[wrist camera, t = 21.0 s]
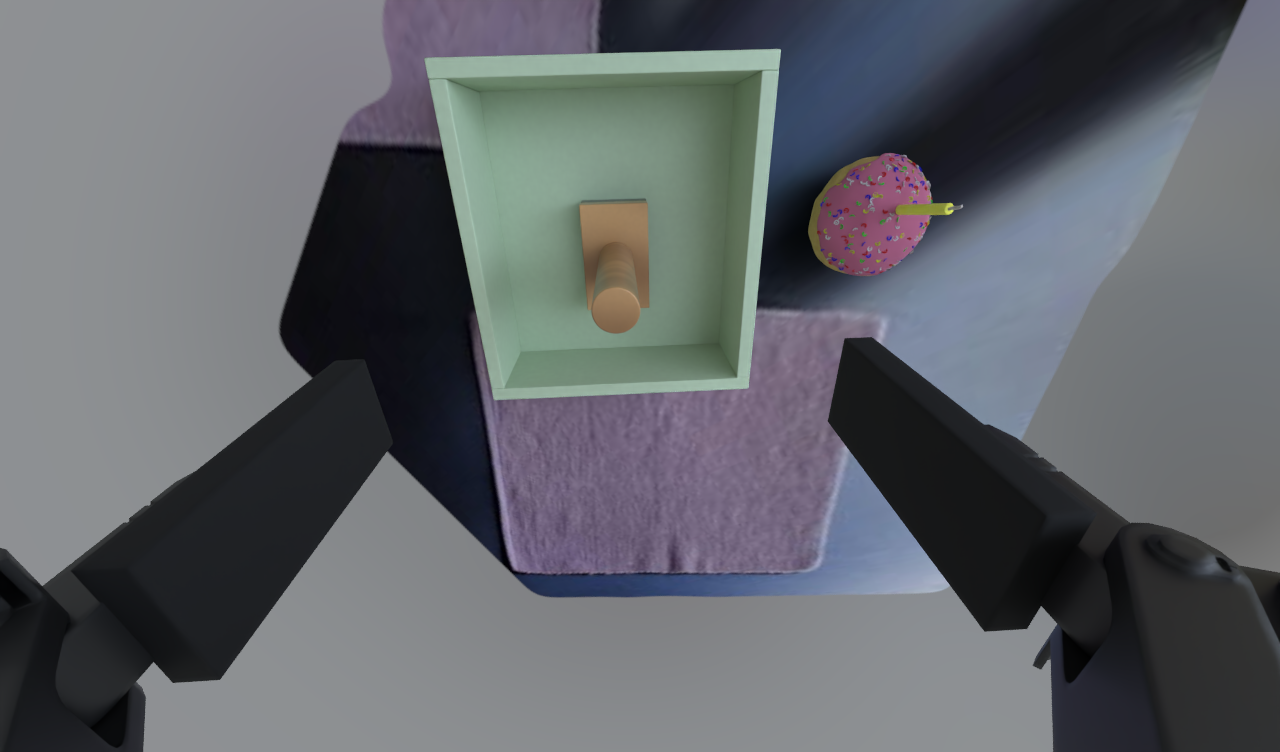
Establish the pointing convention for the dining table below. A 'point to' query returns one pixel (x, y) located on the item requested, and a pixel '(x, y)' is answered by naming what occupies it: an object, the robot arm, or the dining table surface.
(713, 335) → the tub
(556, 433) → the dining table surface
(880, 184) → the cupcake
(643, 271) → the wooden stamp
